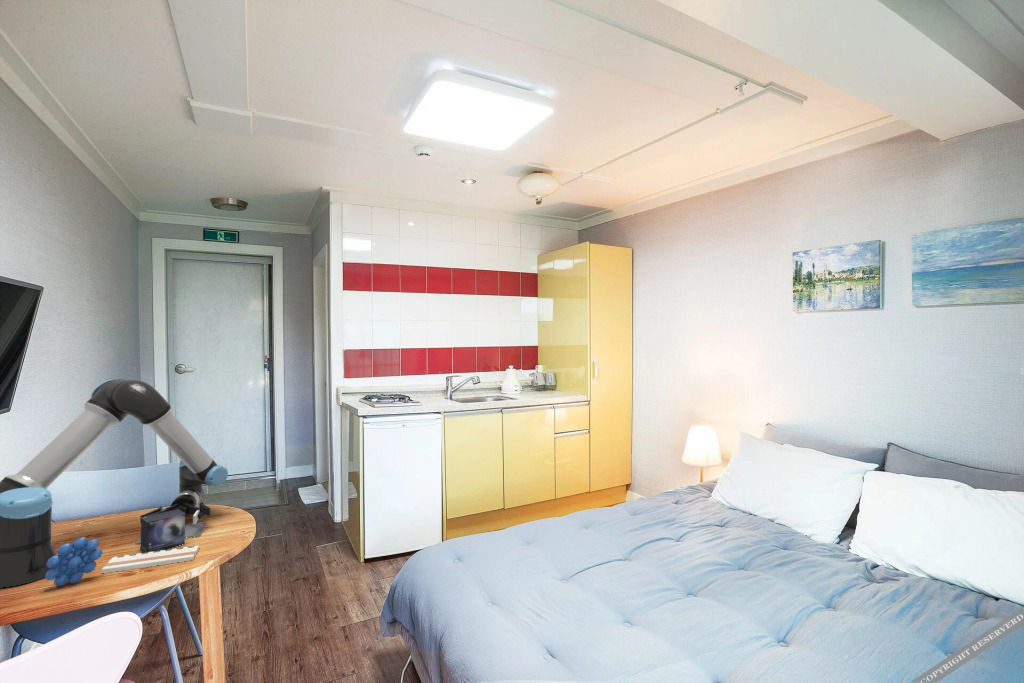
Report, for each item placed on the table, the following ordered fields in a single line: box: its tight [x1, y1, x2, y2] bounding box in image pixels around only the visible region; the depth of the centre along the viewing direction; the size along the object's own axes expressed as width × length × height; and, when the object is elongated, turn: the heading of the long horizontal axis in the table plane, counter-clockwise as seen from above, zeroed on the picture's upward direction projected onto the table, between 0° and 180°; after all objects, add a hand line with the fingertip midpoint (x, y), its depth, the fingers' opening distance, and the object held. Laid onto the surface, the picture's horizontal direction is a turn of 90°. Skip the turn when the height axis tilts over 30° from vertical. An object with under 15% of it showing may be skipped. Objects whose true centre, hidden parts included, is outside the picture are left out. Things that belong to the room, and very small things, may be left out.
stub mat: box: [134, 521, 209, 545], centre depth 167 cm, size 18×14×1 cm
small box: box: [139, 509, 186, 553], centre depth 155 cm, size 11×6×10 cm, turn 143°
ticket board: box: [100, 545, 200, 574], centre depth 145 cm, size 22×9×1 cm, turn 113°
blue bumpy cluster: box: [44, 536, 104, 587], centre depth 132 cm, size 12×7×12 cm, turn 137°
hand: (170, 522), depth 160 cm, fingers open, 13 cm apart
